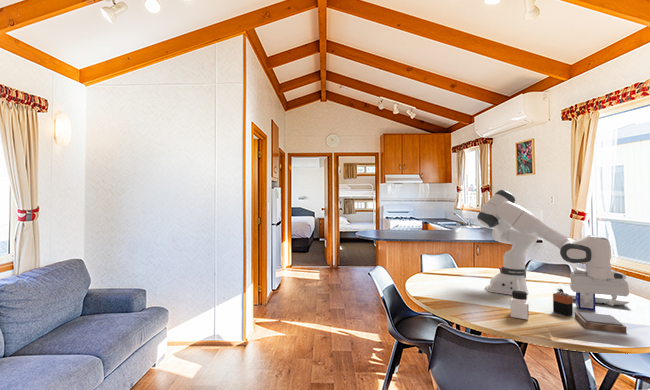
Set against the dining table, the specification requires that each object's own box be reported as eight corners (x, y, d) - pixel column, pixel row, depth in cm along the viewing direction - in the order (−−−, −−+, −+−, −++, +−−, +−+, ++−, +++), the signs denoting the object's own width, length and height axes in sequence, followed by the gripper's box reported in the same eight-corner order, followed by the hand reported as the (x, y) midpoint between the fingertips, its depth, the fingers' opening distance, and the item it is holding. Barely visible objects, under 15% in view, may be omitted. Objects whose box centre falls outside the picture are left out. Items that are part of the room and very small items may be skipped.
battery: (567, 316, 157) (566, 295, 157) (552, 311, 164) (552, 291, 164) (573, 315, 159) (572, 294, 159) (558, 310, 165) (558, 290, 165)
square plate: (565, 301, 182) (565, 293, 182) (557, 288, 206) (557, 282, 206) (630, 308, 169) (630, 300, 169) (614, 294, 194) (614, 287, 194)
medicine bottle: (528, 320, 153) (528, 293, 153) (510, 317, 157) (510, 291, 157) (528, 315, 159) (528, 290, 159) (511, 312, 163) (511, 288, 163)
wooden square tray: (585, 328, 143) (585, 321, 143) (574, 317, 156) (574, 310, 156) (626, 333, 138) (626, 325, 138) (612, 321, 151) (612, 314, 151)
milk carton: (575, 305, 174) (575, 266, 174) (591, 306, 171) (591, 267, 171) (578, 309, 168) (578, 269, 168) (595, 311, 164) (594, 270, 165)
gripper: (572, 272, 148) (572, 303, 148) (630, 276, 140) (631, 308, 140) (567, 269, 154) (568, 299, 154) (623, 272, 146) (624, 304, 146)
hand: (598, 303), depth 147 cm, fingers open, 7 cm apart
